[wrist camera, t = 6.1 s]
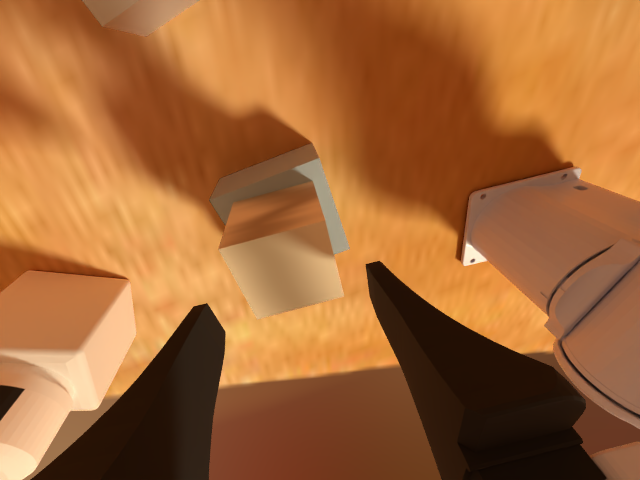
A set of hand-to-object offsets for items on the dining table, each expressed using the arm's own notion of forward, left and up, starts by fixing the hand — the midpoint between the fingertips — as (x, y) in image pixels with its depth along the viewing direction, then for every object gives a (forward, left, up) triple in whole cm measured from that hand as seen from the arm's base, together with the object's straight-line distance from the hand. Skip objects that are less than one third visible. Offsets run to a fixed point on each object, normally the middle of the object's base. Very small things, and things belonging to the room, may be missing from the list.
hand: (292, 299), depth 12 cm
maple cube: (0, 0, -7) cm, 7 cm away
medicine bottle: (+19, +5, -11) cm, 22 cm away
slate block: (0, 0, -11) cm, 11 cm away
